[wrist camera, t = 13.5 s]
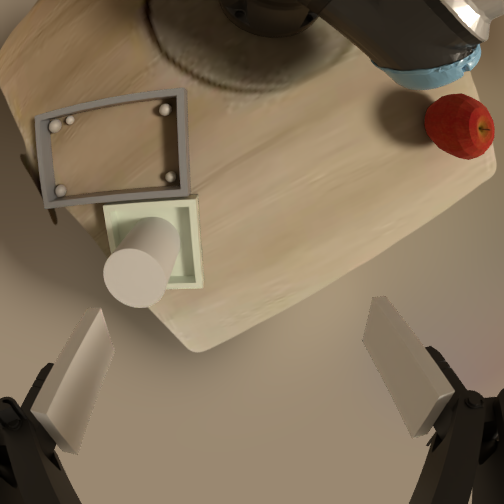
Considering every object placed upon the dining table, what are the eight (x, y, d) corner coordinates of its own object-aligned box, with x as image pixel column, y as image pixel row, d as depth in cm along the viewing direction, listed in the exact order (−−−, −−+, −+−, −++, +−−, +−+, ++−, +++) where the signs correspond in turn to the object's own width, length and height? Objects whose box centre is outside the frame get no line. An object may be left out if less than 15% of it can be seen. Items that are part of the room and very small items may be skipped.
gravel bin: (44, 115, 36) (34, 116, 33) (187, 90, 38) (184, 87, 35) (53, 203, 42) (44, 208, 39) (191, 191, 44) (188, 196, 41)
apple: (420, 158, 43) (474, 175, 31) (404, 101, 40) (459, 100, 27) (460, 143, 42) (515, 156, 30) (447, 90, 39) (503, 90, 26)
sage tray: (109, 200, 43) (102, 205, 40) (197, 194, 44) (195, 199, 41) (123, 280, 49) (118, 289, 46) (204, 278, 50) (202, 288, 47)
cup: (120, 241, 45) (92, 278, 34) (152, 205, 43) (127, 234, 32) (158, 274, 48) (140, 318, 37) (191, 242, 46) (179, 280, 35)
